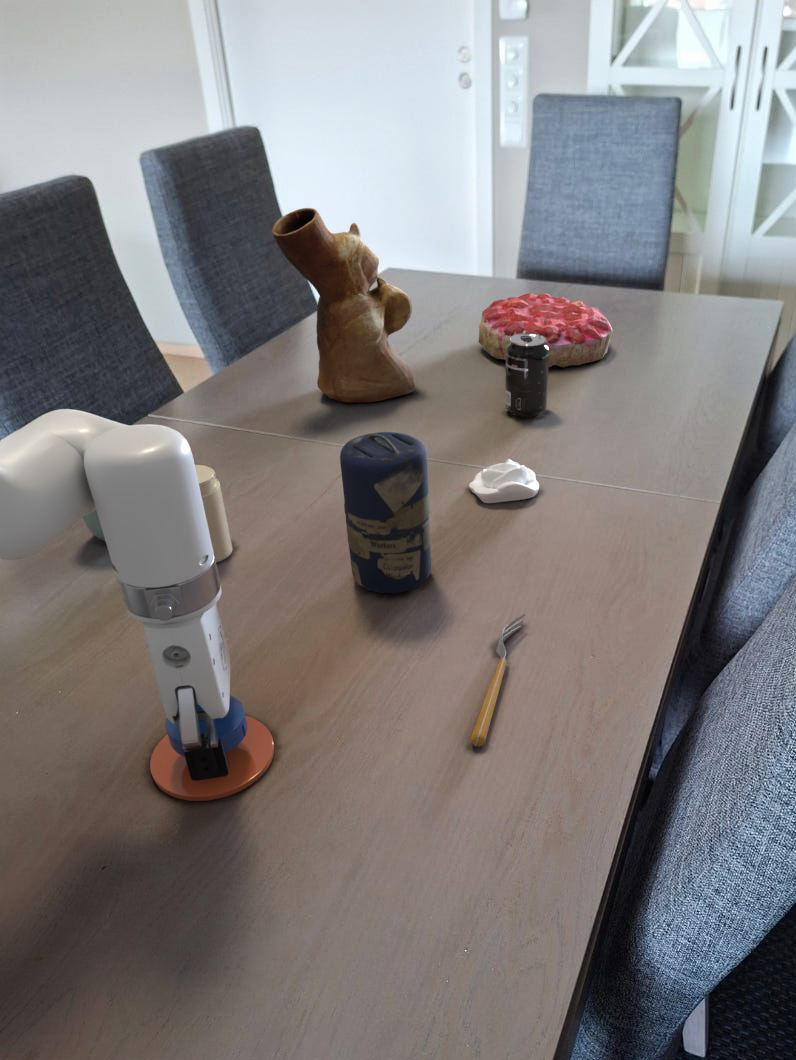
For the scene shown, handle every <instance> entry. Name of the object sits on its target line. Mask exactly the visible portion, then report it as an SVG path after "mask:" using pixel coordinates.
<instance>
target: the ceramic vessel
mask: <svg viewBox="0 0 796 1060" xmlns="http://www.w3.org/2000/svg"><path fill="white" fill-rule="evenodd" d="M323 220H324V219H323V218H322V216H321V215H320V213H319V212H318V210H317V209H315V208H312V207H303V208H297V209H296V210H293V211H290V212H289V213H286V214H285V215H283V216H281V217H280V218H278V220H276V222H275V223H274V224H273V226H272V229H271V234H272V237H273V238H274V241H275V243H276V244H277V246H278V247H279V250H280V251H281V253H282V254H283V256H284V258H285V259H286V260H287V261H288V263H290V264H291V265H292V266H293V267H294V268H295V269H296V271H298V272H299V273H300V275H301V276H302V277H303V278H304V279H305V280H307V282H309V283H310V284H311V285H312V286H313V288H314V289H315V290H316V292H317V293H318V295H319V297H318V299H317V300H318V301H317V306H316V307H317V308H316V327H315V328H316V331H315V332H316V344H317V345H316V346H317V350H318V354H319V355H318V356H319V358H318V376H317V380H316V384H317V388H318V389H319V390H320V391H321V392H323V393H324V394H325V395H326V396H327V397H328V398H329V399H332V400H335V401H338V402H343V403H373V402H380V401H386V400H389V399H392V398H396V397H400V396H401V397H402V396H404V395H408V394H411V393H413V392H414V391H415V388H416V384H415V378H414V376H413V374H412V372H411V370H410V368H409V366H408V365H407V363H406V362H405V361H404V360H403V359H402V357H400V356H399V355H398V353H397V352H396V351H395V350H394V349H393V348H392V346H391V344H390V342H389V341H388V340H389V336H390V335H392V334H394V333H397V332H399V331H400V330H402V329H403V328H404V327H405V326H406V324H407V323H408V321H409V320H410V319H411V316H412V312H413V303H412V300H411V298H410V297H409V295H408V294H407V293H406V292H405V291H404V290H403V289H401V288H399V287H397V286H395V285H391V284H390V283H388V282H387V280H385V279H384V278H383V277H381V276H379V273H378V269H379V266H380V265H379V264H380V260H379V259H380V258H379V257H378V256H377V254H376V253H374V252H373V250H371V249H370V247H369V246H367V244H366V243H365V242H364V241H363V239H362V235H361V231H360V228H359V226H358V224H357V223H356V222H352V223H351V224H350V227H349V230H348V231H347V232H346V231H341V232H336V233H334V232H331V231H330V230H329V229H328V227H327V226H326V224H325V222H324V221H323ZM375 283H376V284H377V285H376V287H374V288H372V286H373V285H374V284H375ZM371 288H372V289H371Z"/></svg>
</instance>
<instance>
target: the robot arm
mask: <svg viewBox="0 0 796 1060" xmlns="http://www.w3.org/2000/svg"><path fill="white" fill-rule="evenodd" d="M195 465H196V464H195V459H194V456H193V452H192V449H191V446H190V444H189V442H188V440H187V439H186V438H185V437H184V435H183V434H181V432H179V431H178V430H175V429H174V428H172V427H169V426H166V425H161V424H154V423H153V424H152V423H150V424H149V423H147V424H146V423H145V424H143V423H142V424H133V425H132V424H131V425H128V424H125V423H122V422H118V421H115V420H112V419H108V418H105V417H102V416H100V415H97V414H93V413H90V412H87V411H84V410H79V409H70V408H59V409H55V410H52V411H49V412H46V413H44V414H42V415H39V416H38V417H37V418H35V419H33V420H32V421H30V422H29V423H27V424H25V425H24V426H22V427H21V428H19V429H17V430H15V431H13V432H12V433H10V434H9V435H7V436H5V437H3V438H2V439H1V440H0V559H1V560H6V561H13V560H22V559H25V558H28V557H32V556H34V555H36V554H38V553H40V552H41V551H42V550H43V549H45V548H46V547H48V546H49V545H51V544H52V543H53V542H54V541H55V540H57V539H58V538H59V537H60V536H61V535H63V534H64V533H66V531H68V530H69V529H70V528H71V527H73V526H74V525H75V524H76V523H77V522H79V521H80V520H81V519H83V516H85V515H87V514H90V513H92V512H94V511H97V514H98V517H99V521H100V524H101V527H102V531H103V534H104V537H105V541H104V542H105V544H106V547H107V551H108V554H109V558H110V562H111V565H112V568H113V571H114V575H115V578H116V581H117V586H118V588H119V592H120V596H121V599H122V602H123V606H124V609H125V611H126V613H127V614H128V616H130V618H132V619H134V620H136V621H137V622H141V623H142V628H143V632H144V636H145V640H146V641H145V642H146V647H147V650H148V654H149V659H150V663H151V667H152V671H153V675H154V679H155V683H156V687H157V690H158V695H159V697H160V701H161V705H162V708H163V710H164V713H165V716H166V719H167V718H168V720H169V721H170V722H171V723H173V724H175V725H176V724H177V722H179V728H180V734H181V740H182V748H183V752H184V755H185V759H186V763H187V766H188V770H189V773H190V777H191V779H192V780H194V781H198V780H204V779H211V778H218V777H224V776H227V775H228V772H229V768H228V764H227V760H226V756H225V752H224V748H223V744H222V740H221V738H219V739H218V738H217V733H216V727H215V721H214V719H216V718H224V717H225V716H226V714H227V713H228V711H229V701H230V696H231V653H230V648H229V645H228V641H227V637H226V633H225V630H224V626H223V622H222V618H221V615H220V612H219V608H218V604H217V603H218V601H219V600H220V599H221V596H222V586H221V581H220V576H219V572H218V565H217V563H216V561H215V557H214V553H213V548H212V543H211V539H210V534H209V529H208V524H207V520H206V515H205V510H204V506H203V501H202V496H201V492H200V487H199V483H198V478H197V473H196V469H195ZM197 705H200V706H201V708H202V709H203V710H204V711H197ZM203 720H206V723H207V730H208V734H207V733H201V732H200V730H199V723H198V721H203Z"/></svg>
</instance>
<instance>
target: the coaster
mask: <svg viewBox="0 0 796 1060" xmlns="http://www.w3.org/2000/svg"><path fill="white" fill-rule="evenodd" d="M245 716H246V721H247V733H246V736H245V737H244V739H243V740H242V741H241V742H240V743H239V744H238V745H237V746H236V747H235V748H233V749H232V750H230V751H228V752H226V753H225V756H226V760H227V764H228V768H229V772H228V775H227V776H224V777H218V778H211V779H204V780H198V781H194V780H192V779H191V777H190V773H189V770H188V766H187V763H186V759H185V757H184V756H182V755H180V754H178V753H177V752H176V751H174V749H173V748H172V747H171V744H170V741H169V737H168V734H165V736H164V737H162V739H160V740H159V742H158V743H157V744H156V745H155V748H154V749H153V751H152V754H151V757H150V762H149V764H150V765H149V769H150V773H151V777H152V779H153V782H154V783H155V785H156V786H157V787H158V788H159V789H160V790H161V792H164V793H165V794H167V795H168V796H171V797H173V798H176V799H179V800H182V801H183V800H184V801H190V802H191V801H192V802H205V801H213V800H219V799H223V798H225V797H229V796H232V795H234V794H237V793H239V792H241V791H243V790H245V789H246V788H248V787H250V786H251V785H253V784H254V783H255V782H257V781H258V780H259V779H260V778H261V777H262V776H263V775H264V774H265V772H266V771H267V770H268V768H269V767H270V765H271V763H272V761H273V758H274V754H275V744H274V738H273V735H272V734H271V732H270V730H269V728H268V727H267V726H266V725H264V724H263V723H262V722H261V721H259V720H258V719H256V718H253V717H251V716H249V715H245Z"/></svg>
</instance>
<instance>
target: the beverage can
mask: <svg viewBox="0 0 796 1060" xmlns="http://www.w3.org/2000/svg"><path fill="white" fill-rule="evenodd" d="M548 364H549V348H548V346H547V345H546V344H545V337H543V336H542V335H539V334H533V333H522V334H516V335H513V336H512V337H511V338H510V344H509V345H508V346H507V347H506V360H505V384H504V385H505V391H504V393H505V395H504V396H505V397H504V398H505V402H504V403H505V404H504V405H505V409H506V410H507V411H508V412H509V413H511V414H512V415H514V416H516V417H519V418H532V417H533V418H534V417H536V416H539V415H540V414H541V413H544V411H545V410H546V409H547V407H548V390H549V389H548V387H549V386H548V385H549V367H548Z"/></svg>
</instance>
